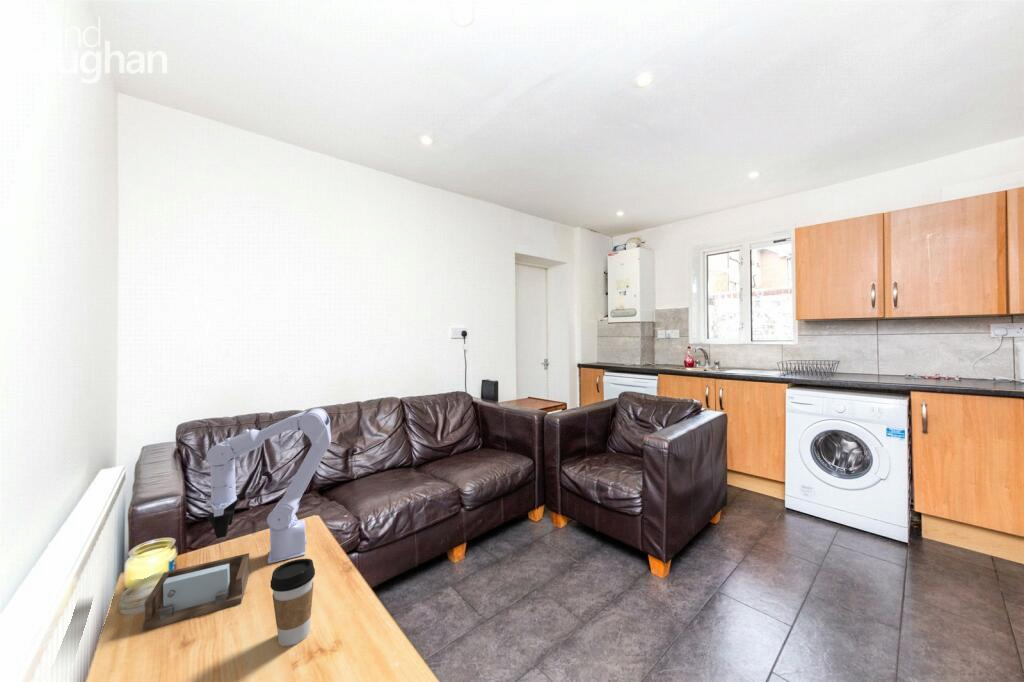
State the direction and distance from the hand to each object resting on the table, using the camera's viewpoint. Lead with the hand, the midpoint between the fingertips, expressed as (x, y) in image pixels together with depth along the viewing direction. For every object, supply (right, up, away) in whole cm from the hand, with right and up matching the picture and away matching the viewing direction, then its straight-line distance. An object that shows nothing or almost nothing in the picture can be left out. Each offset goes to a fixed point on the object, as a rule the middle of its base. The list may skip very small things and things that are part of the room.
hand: (224, 531), depth 110 cm
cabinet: (+6, -9, -15) cm, 19 cm away
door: (+8, -8, -19) cm, 22 cm away
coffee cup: (+36, -9, -27) cm, 46 cm away
